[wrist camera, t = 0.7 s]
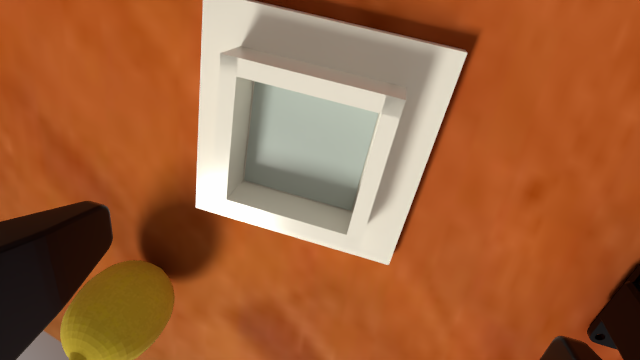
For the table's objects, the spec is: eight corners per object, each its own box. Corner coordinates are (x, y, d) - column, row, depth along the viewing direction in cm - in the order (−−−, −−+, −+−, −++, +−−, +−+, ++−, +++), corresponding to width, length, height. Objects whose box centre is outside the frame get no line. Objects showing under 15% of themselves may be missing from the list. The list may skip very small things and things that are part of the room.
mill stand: (465, 50, 17) (474, 61, 14) (389, 256, 22) (386, 292, 20) (211, -10, 18) (177, -10, 15) (201, 200, 24) (175, 227, 21)
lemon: (129, 225, 26) (25, 312, 19) (202, 259, 26) (124, 359, 19) (121, 278, 29) (28, 372, 22) (187, 309, 29) (115, 412, 22)
